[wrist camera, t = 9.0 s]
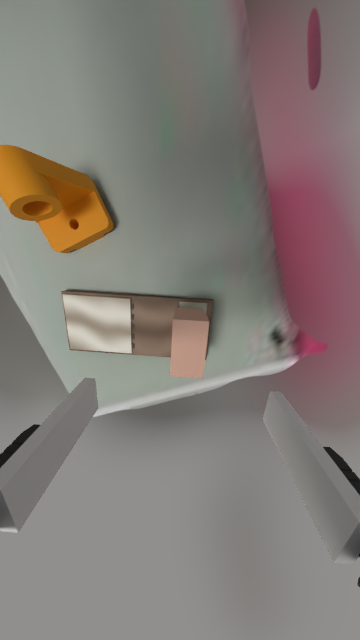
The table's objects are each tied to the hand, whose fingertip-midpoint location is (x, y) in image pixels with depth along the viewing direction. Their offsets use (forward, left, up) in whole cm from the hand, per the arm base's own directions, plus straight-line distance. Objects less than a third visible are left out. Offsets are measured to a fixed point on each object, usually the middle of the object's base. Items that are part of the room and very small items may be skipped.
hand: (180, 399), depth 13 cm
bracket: (-16, -19, -21) cm, 33 cm away
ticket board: (+2, -9, -21) cm, 23 cm away
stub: (+2, +1, -19) cm, 19 cm away
